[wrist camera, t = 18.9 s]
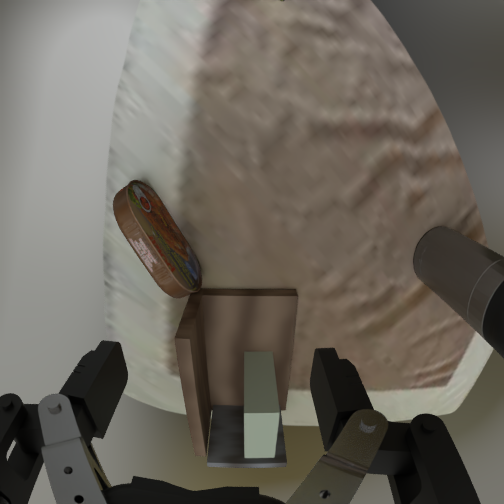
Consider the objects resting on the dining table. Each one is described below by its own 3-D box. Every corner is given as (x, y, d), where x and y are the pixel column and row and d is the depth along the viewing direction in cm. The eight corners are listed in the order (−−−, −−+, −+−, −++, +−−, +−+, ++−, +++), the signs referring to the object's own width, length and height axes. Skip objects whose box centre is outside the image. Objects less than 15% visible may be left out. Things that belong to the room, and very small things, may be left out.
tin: (207, 272, 41) (198, 302, 33) (187, 283, 41) (175, 314, 33) (146, 175, 37) (121, 182, 29) (127, 188, 37) (99, 199, 29)
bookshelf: (295, 289, 42) (315, 350, 29) (284, 402, 49) (292, 466, 36) (192, 288, 41) (170, 349, 28) (203, 401, 49) (194, 465, 35)
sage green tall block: (272, 351, 43) (279, 412, 31) (269, 398, 46) (274, 457, 35) (244, 351, 43) (244, 413, 31) (244, 399, 46) (244, 458, 34)
